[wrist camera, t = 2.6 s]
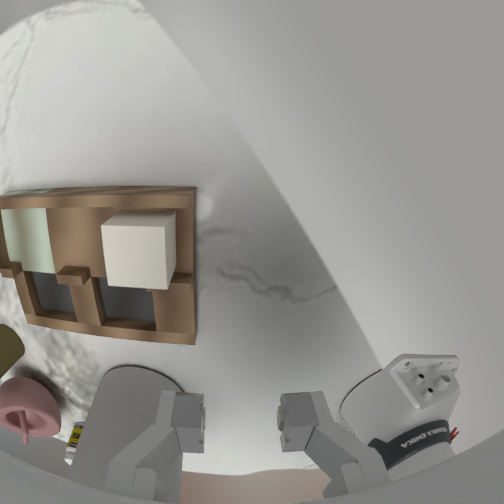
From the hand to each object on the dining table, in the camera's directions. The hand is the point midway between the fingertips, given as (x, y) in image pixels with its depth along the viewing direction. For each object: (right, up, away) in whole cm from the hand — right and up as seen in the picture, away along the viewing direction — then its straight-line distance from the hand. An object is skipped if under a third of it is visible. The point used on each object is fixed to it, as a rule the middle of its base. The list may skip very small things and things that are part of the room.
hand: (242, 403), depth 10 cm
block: (-9, +7, +15) cm, 19 cm away
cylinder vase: (-15, -14, +26) cm, 33 cm away
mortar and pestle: (-35, -17, +25) cm, 46 cm away
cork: (-36, -8, +21) cm, 43 cm away
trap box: (-17, +4, +18) cm, 25 cm away
